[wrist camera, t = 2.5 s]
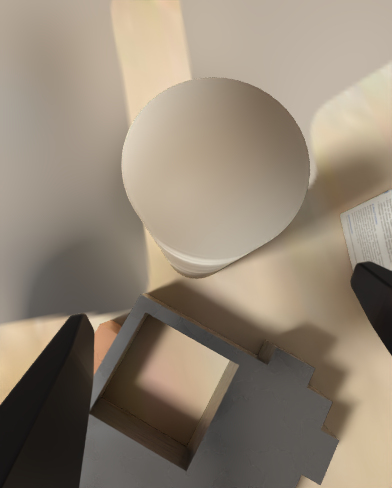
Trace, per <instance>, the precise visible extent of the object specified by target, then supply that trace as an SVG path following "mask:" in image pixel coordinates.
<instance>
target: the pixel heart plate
mask: <svg viewBox="0 0 392 488" xmlns="http://www.w3.org/2000/svg"><path fill="white" fill-rule="evenodd" d="M148 314H150V315H151V316H153V317H155V318H157V319H158V320H160V321H162V322H164V323H165V324H167V325H169V326H171V327H172V328H174V329H176V330H178V331H180V332H181V333H183V334H185V335H187V336H188V337H190V338H192V339H194V340H195V341H197V342H199V343H201V344H202V345H204V346H206V347H208V348H209V349H211V350H213V351H215V352H217V353H218V354H220V355H222V356H224V357H225V358H227V359H229V360H230V362H229V364H228V366H227V368H226V369H225V371H224V373H223V375H222V377H221V379H220V381H219V383H218V385H217V387H216V389H215V391H214V393H213V395H212V397H211V399H210V401H209V403H208V405H207V407H206V409H205V411H204V413H203V415H202V417H201V419H200V421H199V423H198V425H197V427H196V429H195V431H194V433H193V435H192V437H191V439H190V441H189V443H188V445H187V447H186V446H184V445H182V444H181V443H179V442H177V441H175V440H174V439H172V438H170V437H169V436H167V435H165V434H164V433H162V432H160V431H158V430H157V429H155V428H153V427H152V426H150V425H148V424H147V423H145V422H143V421H141V420H140V419H138V418H136V417H135V416H133V415H131V414H130V413H128V412H126V411H124V410H123V409H121V408H119V407H118V406H116V405H114V404H113V403H111V402H109V401H107V400H106V399H104V398H102V395H103V393H104V391H105V389H106V388H107V386H108V384H109V382H110V381H111V379H112V377H113V375H114V373H115V372H116V370H117V368H118V366H119V365H120V363H121V361H122V359H123V357H124V356H125V354H126V352H127V350H128V349H129V347H130V345H131V343H132V341H133V340H134V338H135V336H136V334H137V333H138V331H139V329H140V327H141V326H142V324H143V322H144V320H145V318H146V317H147V315H148ZM94 336H95V337H94V379H93V390H92V397H91V405H90V412H89V419H88V427H87V434H86V441H85V449H84V456H83V463H82V471H81V478H80V485H79V488H296V486H297V483H298V481H299V479H300V476H301V474H302V475H304V476H305V477H307V478H309V479H310V480H312V481H314V482H316V483H317V484H319V485H321V483H322V480H323V478H324V476H325V473H326V471H327V469H328V466H329V464H330V461H331V459H332V457H333V454H334V452H335V450H336V447H337V445H338V442H339V440H338V439H337V438H336V437H335V436H334V435H333V434H332V433H331V432H330V431H329V430H328V429H327V428H326V427H325V426H324V425H323V423H324V421H325V419H326V416H327V414H328V412H329V409H330V407H331V405H332V401H331V400H329V399H328V398H327V397H325V396H324V395H323V394H322V393H320V392H319V391H318V390H316V389H315V388H314V387H312V386H310V385H308V384H309V381H310V379H311V377H312V375H313V372H314V370H315V368H313V367H312V366H310V365H309V364H307V363H305V362H304V361H302V360H301V359H299V358H297V357H295V356H294V355H292V354H290V353H288V352H286V351H285V350H283V349H281V348H279V347H277V346H276V345H274V344H272V343H270V342H269V341H267V340H265V341H264V343H263V345H262V347H261V349H260V351H259V353H258V355H255V354H253V353H252V352H250V351H248V350H246V349H245V348H243V347H241V346H239V345H237V344H236V343H234V342H232V341H230V340H229V339H227V338H225V337H223V336H221V335H220V334H218V333H216V332H214V331H213V330H211V329H209V328H207V327H205V326H204V325H202V324H200V323H198V322H197V321H195V320H193V319H191V318H189V317H188V316H186V315H184V314H182V313H181V312H179V311H177V310H175V309H173V308H172V307H170V306H168V305H166V304H165V303H163V302H161V301H159V300H157V299H156V298H154V297H152V296H150V295H149V294H147V293H145V294H140V296H139V298H138V300H137V301H136V303H135V305H134V307H133V308H132V310H131V312H130V313H129V315H128V317H127V319H126V320H125V322H124V324H123V326H121V325H119V324H118V323H116V322H114V321H112V320H110V321H107V322H105V323H102V324H100V326H99V327H98V329H97V331H96V332H95V334H94Z"/></svg>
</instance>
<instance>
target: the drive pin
mask: <svg viewBox="0 0 392 488" xmlns="http://www.w3.org/2000/svg"><path fill="white" fill-rule="evenodd" d="M309 176H310V161H309V154H308V149H307V146H306V142H305V139H304V137H303V135H302V132H301V130H300V128H299V126H298V125H297V123H296V121H295V120H294V118H293V117H292V116H291V115H290V113H289V112H288V111H287V110H286V109H285V108H284V107H283V106H282V105H281V104H280V103H279V102H278V101H277V100H276V99H274V98H273V97H272V96H270V95H269V94H267V93H266V92H264V91H262V90H261V89H259V88H257V87H255V86H252V85H250V84H248V83H244V82H241V81H238V80H233V79H227V78H215V77H214V78H213V77H212V78H200V79H194V80H189V81H186V82H183V83H179V84H177V85H175V86H173V87H170V88H168V89H167V90H165V91H163V92H162V93H160V94H158V95H157V96H156V97H155V98H153V99H152V100H151V101H150V102H149V103H148V104H147V105H146V106H145V107H144V108H143V109H142V110H141V111H140V113H139V114H138V115H137V117H136V118H135V120H134V121H133V123H132V125H131V127H130V129H129V131H128V134H127V136H126V139H125V143H124V147H123V151H122V177H123V182H124V187H125V190H126V193H127V195H128V198H129V200H130V202H131V204H132V206H133V208H134V210H135V211H136V213H137V214H138V216H139V217H140V219H141V220H142V222H143V223H144V225H145V226H146V228H147V230H148V231H149V233H150V234H151V236H152V237H153V239H154V240H155V242H156V243H157V245H158V246H159V248H160V249H161V251H162V252H163V254H164V255H165V257H166V258H167V260H168V261H169V263H170V264H171V266H172V267H173V268H174V269H175V270H176V271H177V272H178V273H180V274H181V275H183V276H185V277H189V278H195V279H198V278H205V277H208V276H210V275H212V274H214V273H215V272H217V271H219V270H221V269H222V268H224V267H226V266H227V265H229V264H231V263H233V262H234V261H236V260H238V259H240V258H241V257H243V256H245V255H247V254H248V253H250V252H252V251H254V250H255V249H257V248H259V247H260V246H262V245H264V244H266V243H267V242H269V241H270V240H272V239H273V238H275V237H276V236H277V235H279V234H280V233H281V232H282V231H283V230H284V229H285V228H286V227H287V226H288V225H289V224H290V222H291V221H292V220H293V219H294V217H295V216H296V214H297V213H298V211H299V209H300V208H301V205H302V203H303V201H304V198H305V196H306V192H307V188H308V184H309Z"/></svg>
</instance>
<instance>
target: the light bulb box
mask: <svg viewBox="0 0 392 488" xmlns="http://www.w3.org/2000/svg"><path fill="white" fill-rule="evenodd" d="M340 219H341V224H342V228H343V232H344V236H345V240H346V245H347V249H348V253H349V257H350V261H351V265H352V270H353V271H354V268H355V265H356V264H357V263H360V262H365V261H371V262H374V263H376V264H378V265H380V266H382V267H384V268H387V269H389V270H391V271H392V189H391V190H388V191H386V192H384V193H382V194H380V195H378V196H376V197H374V198H372V199H370V200H368V201H366V202H364V203H362V204H360V205H358V206H356V207H354V208H351V209H349V210H347V211H345V212H343V213H341V214H340Z"/></svg>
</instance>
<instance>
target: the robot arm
mask: <svg viewBox="0 0 392 488" xmlns="http://www.w3.org/2000/svg"><path fill="white" fill-rule="evenodd" d="M351 286H352V289H353V291H354V292H355V294H356V296H357V298H358V300H359V302H360V304H361V306H362V308H363V310H364V312H365V314H366V315H367V317H368V319H369V321H370V323H371V325H372V326H373V328H374V330H375V331H376V333H377V334H378V336H379V337H380V339H381V340H382V342H383V343H384V345H385V346H386V348H387V349H388V351H389V352H390V354H391V355H392V271H391V270H389V269H387V268H384V267H382V266H380V265H378V264H376V263H374V262H371V261H365V262H360V263H357V264H356V265H355V268H354V271H353V274H352V278H351ZM94 337H95V336H94V329H93V327H92V325H91V323H90V321H89V319H88V317H87V315H86V314H84V313H80V314H75V315H72V316H70V317H69V318H68V320H67V321H66V322H65V323H64V325H63V326H62V327H61V329H60V330H59V331H58V332H57V334H56V335H55V336H54V337H53V339H52V340H51V341H50V343H49V344H48V345H47V346H46V348H45V349H44V350H43V351H42V353H41V354H40V355H39V356H38V358H37V359H36V360H35V362H34V363H33V364H32V365H31V367H30V368H29V369H28V370H27V372H26V373H25V374H24V375H23V377H22V378H21V379H20V381H19V382H18V383H17V384H16V386H15V387H14V388H13V389H12V391H11V392H10V393H9V395H8V396H7V397H6V398H5V400H4V401H3V402H2V403H1V405H0V488H79V485H80V478H81V471H82V463H83V456H84V449H85V441H86V434H87V427H88V419H89V412H90V405H91V397H92V390H93V379H94Z"/></svg>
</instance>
